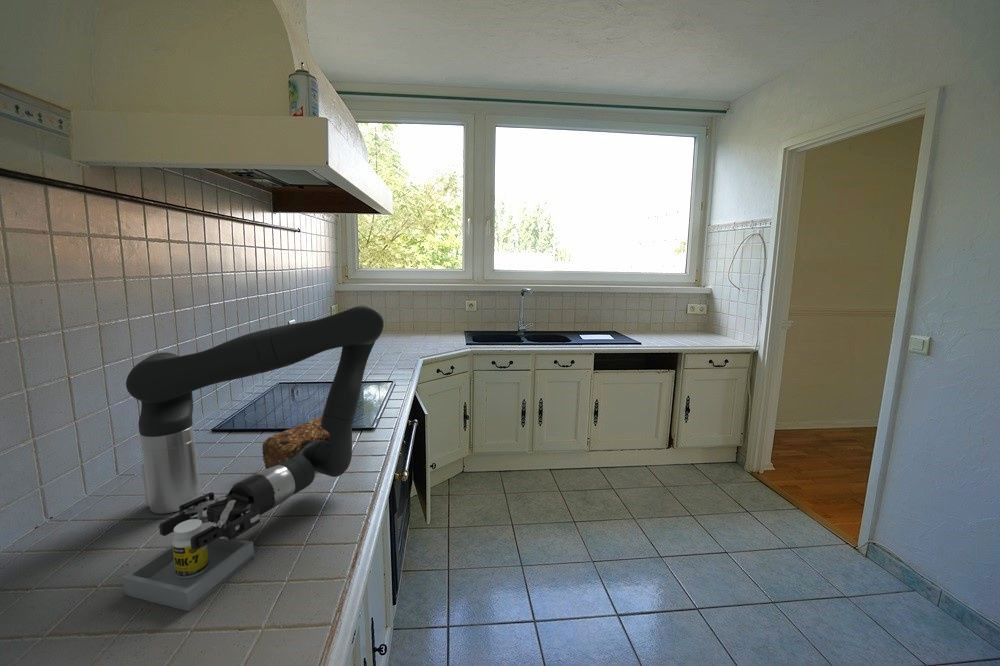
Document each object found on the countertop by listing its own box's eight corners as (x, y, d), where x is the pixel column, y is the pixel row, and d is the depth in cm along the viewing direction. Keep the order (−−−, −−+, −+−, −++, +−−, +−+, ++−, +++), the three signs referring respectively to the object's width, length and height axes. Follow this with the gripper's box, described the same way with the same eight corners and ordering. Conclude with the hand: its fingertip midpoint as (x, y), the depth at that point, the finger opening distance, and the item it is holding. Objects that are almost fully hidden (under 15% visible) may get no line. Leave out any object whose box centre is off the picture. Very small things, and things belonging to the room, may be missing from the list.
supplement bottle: (171, 582, 75) (164, 536, 73) (182, 563, 79) (177, 519, 78) (204, 576, 76) (198, 531, 74) (213, 558, 80) (208, 515, 79)
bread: (325, 445, 130) (323, 412, 129) (349, 454, 125) (347, 419, 123) (261, 470, 115) (258, 433, 113) (286, 482, 109) (282, 443, 107)
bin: (125, 594, 73) (122, 577, 72) (197, 545, 85) (195, 530, 85) (189, 611, 70) (186, 593, 69) (254, 557, 82) (252, 541, 81)
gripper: (237, 466, 91) (147, 506, 76) (288, 481, 85) (201, 528, 71) (241, 500, 92) (153, 546, 78) (291, 517, 86) (206, 570, 72)
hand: (176, 537), depth 74 cm, fingers open, 8 cm apart
